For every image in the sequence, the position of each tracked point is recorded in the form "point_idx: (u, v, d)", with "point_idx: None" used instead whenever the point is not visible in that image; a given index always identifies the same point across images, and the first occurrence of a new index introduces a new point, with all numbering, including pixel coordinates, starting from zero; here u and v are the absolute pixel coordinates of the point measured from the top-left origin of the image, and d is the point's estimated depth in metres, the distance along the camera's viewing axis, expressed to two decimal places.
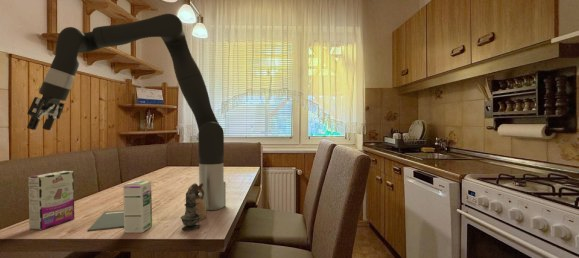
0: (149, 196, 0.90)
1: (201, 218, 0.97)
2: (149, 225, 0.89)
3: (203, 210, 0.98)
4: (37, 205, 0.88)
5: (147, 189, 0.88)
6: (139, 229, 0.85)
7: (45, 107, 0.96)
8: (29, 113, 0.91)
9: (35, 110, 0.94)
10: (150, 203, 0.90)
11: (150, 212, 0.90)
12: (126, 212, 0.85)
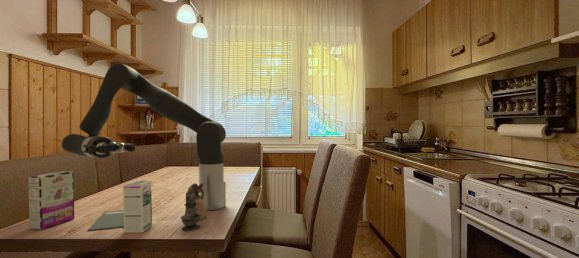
0: (149, 196, 0.90)
1: (201, 218, 0.97)
2: (149, 225, 0.89)
3: (203, 210, 0.98)
4: (37, 205, 0.88)
5: (147, 189, 0.88)
6: (139, 229, 0.85)
7: None
8: (88, 151, 0.91)
9: None
10: (150, 203, 0.90)
11: (150, 212, 0.90)
12: (126, 212, 0.85)
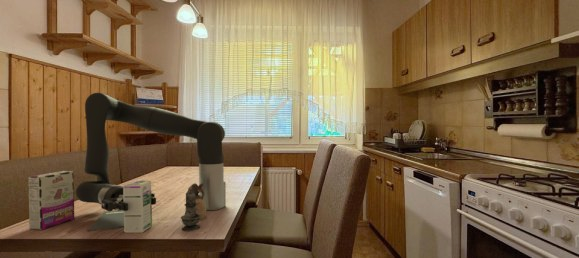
0: (149, 196, 0.89)
1: (201, 218, 0.97)
2: (149, 225, 0.89)
3: (203, 210, 0.98)
4: (37, 205, 0.88)
5: (147, 189, 0.88)
6: (139, 229, 0.85)
7: None
8: (108, 209, 0.84)
9: None
10: (150, 203, 0.90)
11: (150, 212, 0.90)
12: (125, 212, 0.85)
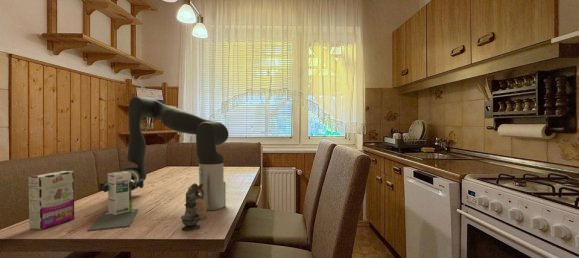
0: (127, 185, 1.04)
1: (201, 218, 0.97)
2: (126, 210, 1.04)
3: (203, 210, 0.98)
4: (37, 205, 0.88)
5: (123, 179, 1.03)
6: (113, 211, 1.02)
7: None
8: None
9: None
10: (129, 191, 1.05)
11: (128, 199, 1.05)
12: (108, 196, 1.04)
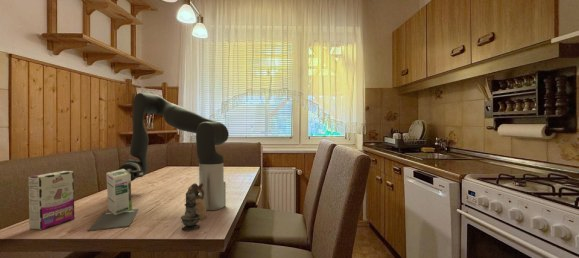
0: (126, 186, 1.02)
1: (201, 218, 0.97)
2: (126, 209, 1.04)
3: (203, 210, 0.98)
4: (37, 205, 0.88)
5: (123, 181, 1.00)
6: (113, 211, 1.01)
7: None
8: None
9: None
10: (128, 192, 1.03)
11: (128, 199, 1.03)
12: (108, 195, 1.02)
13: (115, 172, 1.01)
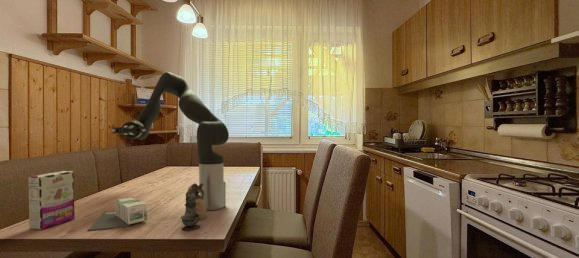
0: None
1: (201, 218, 0.97)
2: None
3: (203, 210, 0.98)
4: (37, 205, 0.88)
5: None
6: (116, 213, 1.00)
7: (123, 128, 1.21)
8: (119, 132, 1.17)
9: None
10: None
11: None
12: (119, 204, 0.97)
13: (135, 212, 0.92)
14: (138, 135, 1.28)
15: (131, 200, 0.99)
